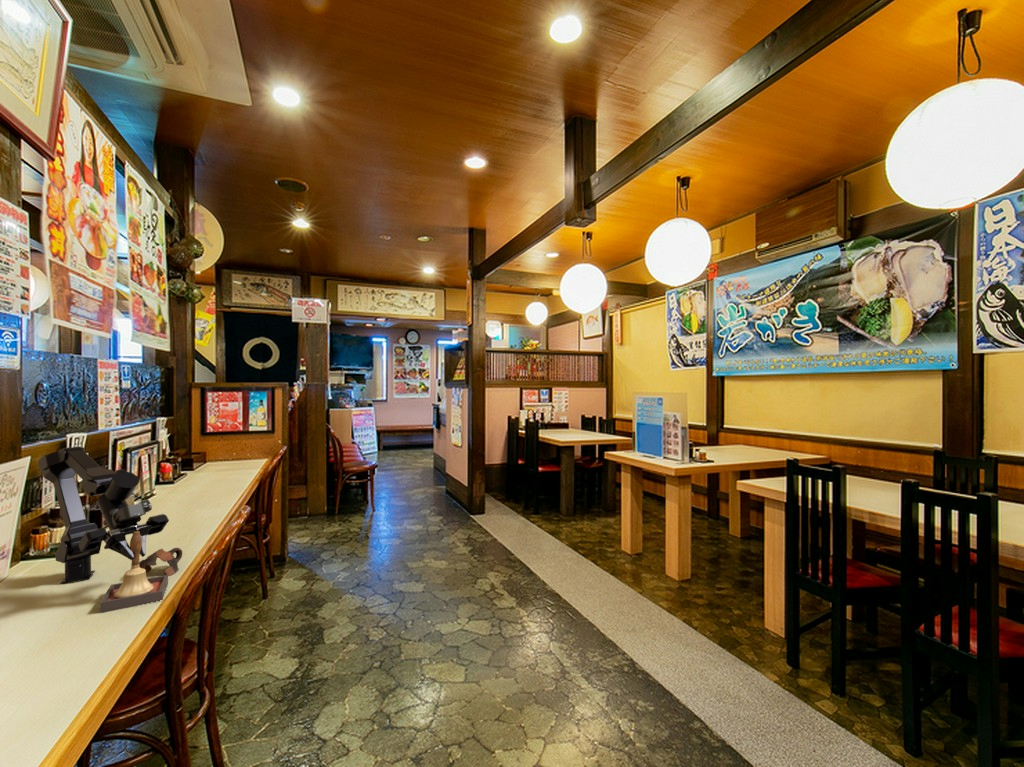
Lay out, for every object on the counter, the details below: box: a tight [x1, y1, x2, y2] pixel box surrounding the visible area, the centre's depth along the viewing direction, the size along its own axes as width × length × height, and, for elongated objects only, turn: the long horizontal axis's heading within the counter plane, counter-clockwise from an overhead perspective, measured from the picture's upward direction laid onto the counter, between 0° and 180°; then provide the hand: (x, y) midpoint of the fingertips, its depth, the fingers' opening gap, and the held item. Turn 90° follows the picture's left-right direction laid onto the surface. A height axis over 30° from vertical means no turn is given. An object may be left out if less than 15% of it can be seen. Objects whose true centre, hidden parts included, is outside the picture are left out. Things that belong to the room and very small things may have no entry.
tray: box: [99, 574, 169, 614], centre depth 125 cm, size 13×13×2 cm
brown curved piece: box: [139, 547, 183, 577], centre depth 142 cm, size 12×10×8 cm
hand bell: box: [114, 531, 154, 598], centre depth 125 cm, size 8×8×16 cm
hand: (138, 557), depth 125 cm, fingers closed on hand bell, 2 cm apart
